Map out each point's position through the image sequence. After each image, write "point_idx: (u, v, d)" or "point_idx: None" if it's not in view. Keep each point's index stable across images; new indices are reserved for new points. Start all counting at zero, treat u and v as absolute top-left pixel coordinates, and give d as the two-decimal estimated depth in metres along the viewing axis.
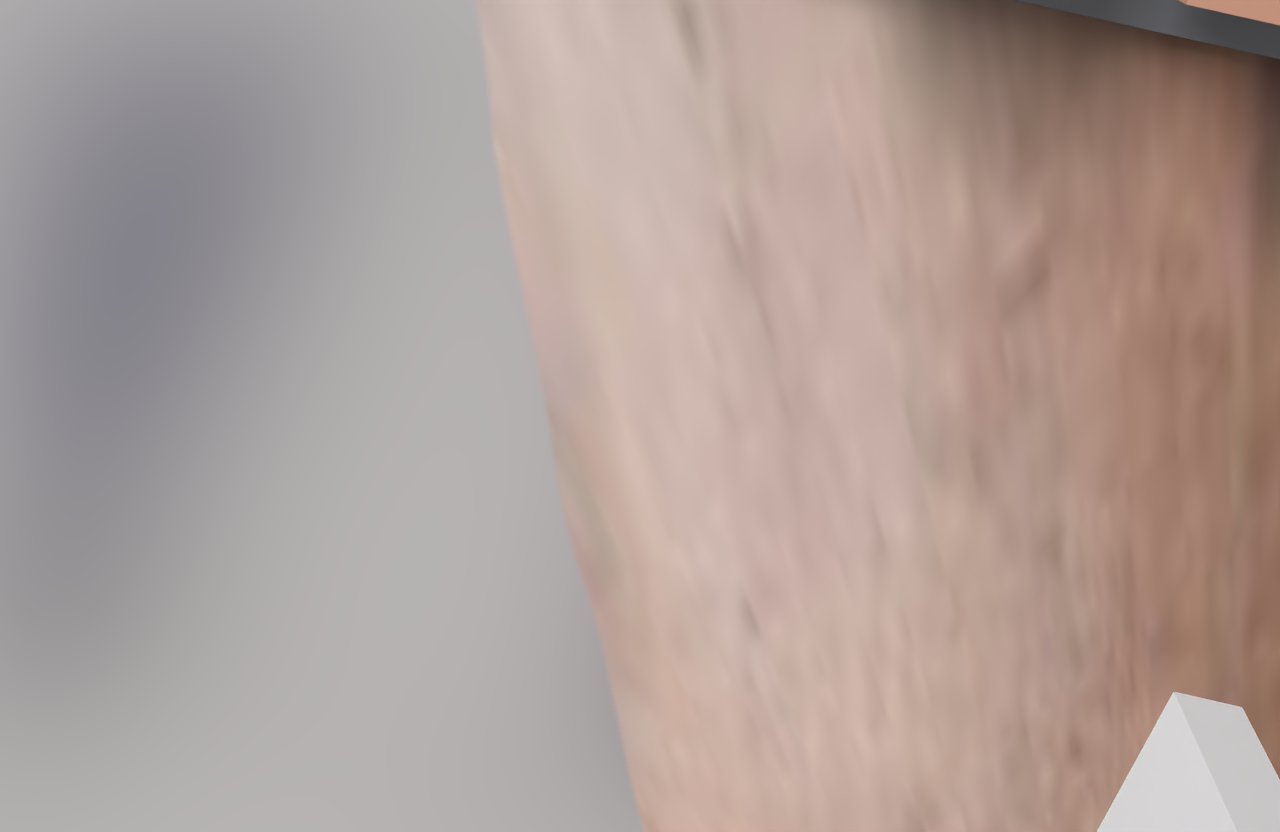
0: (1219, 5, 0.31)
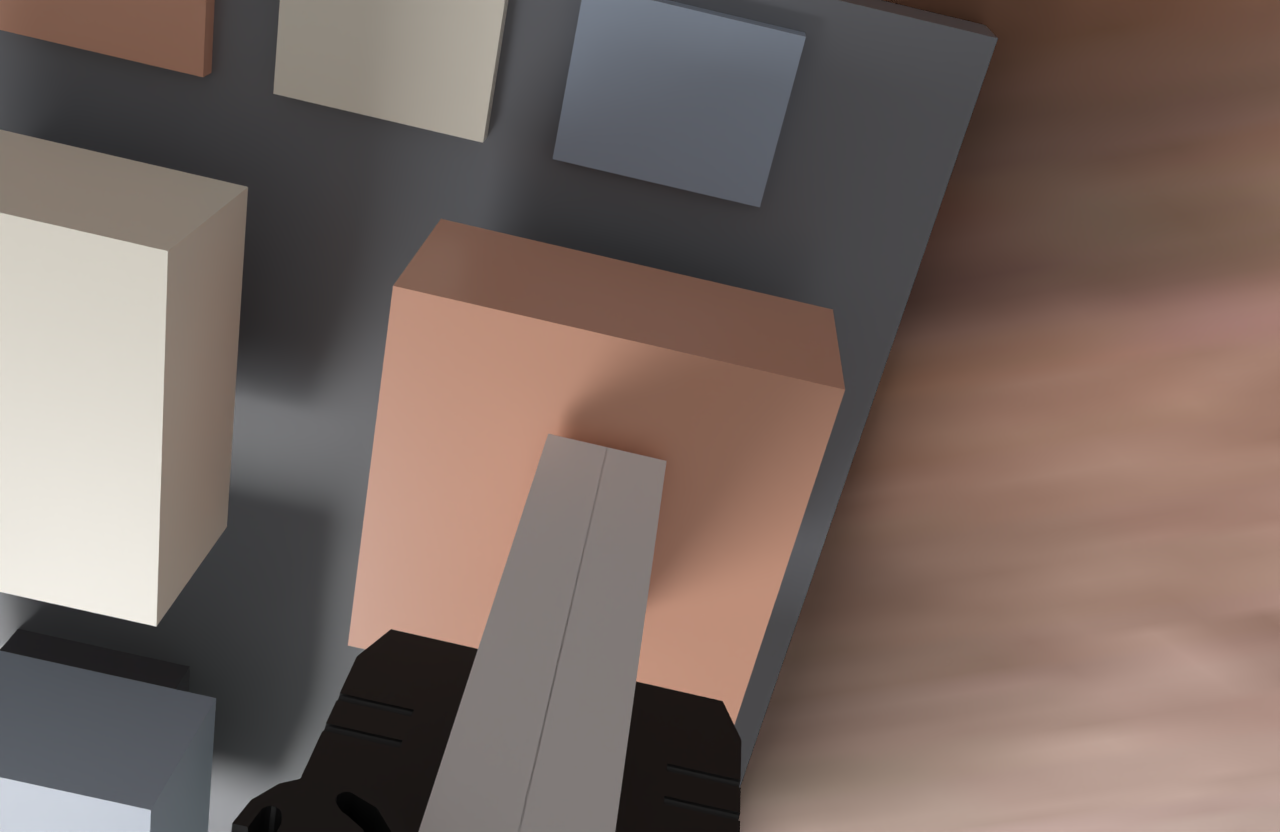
0: (735, 687, 0.17)
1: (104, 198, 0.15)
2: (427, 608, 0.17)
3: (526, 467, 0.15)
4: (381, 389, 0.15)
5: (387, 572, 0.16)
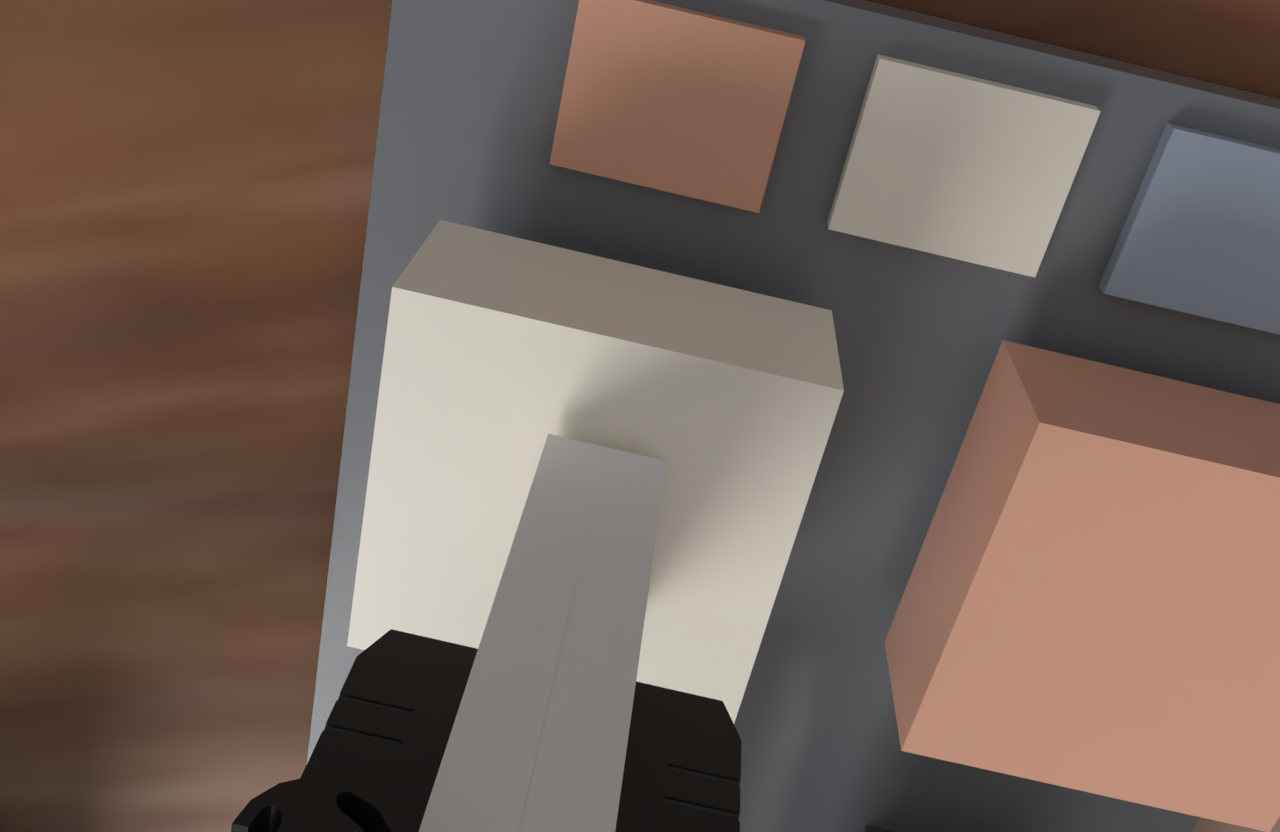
0: None
1: (743, 331, 0.15)
2: (991, 717, 0.17)
3: (1127, 589, 0.16)
4: (1003, 516, 0.16)
5: (960, 684, 0.17)
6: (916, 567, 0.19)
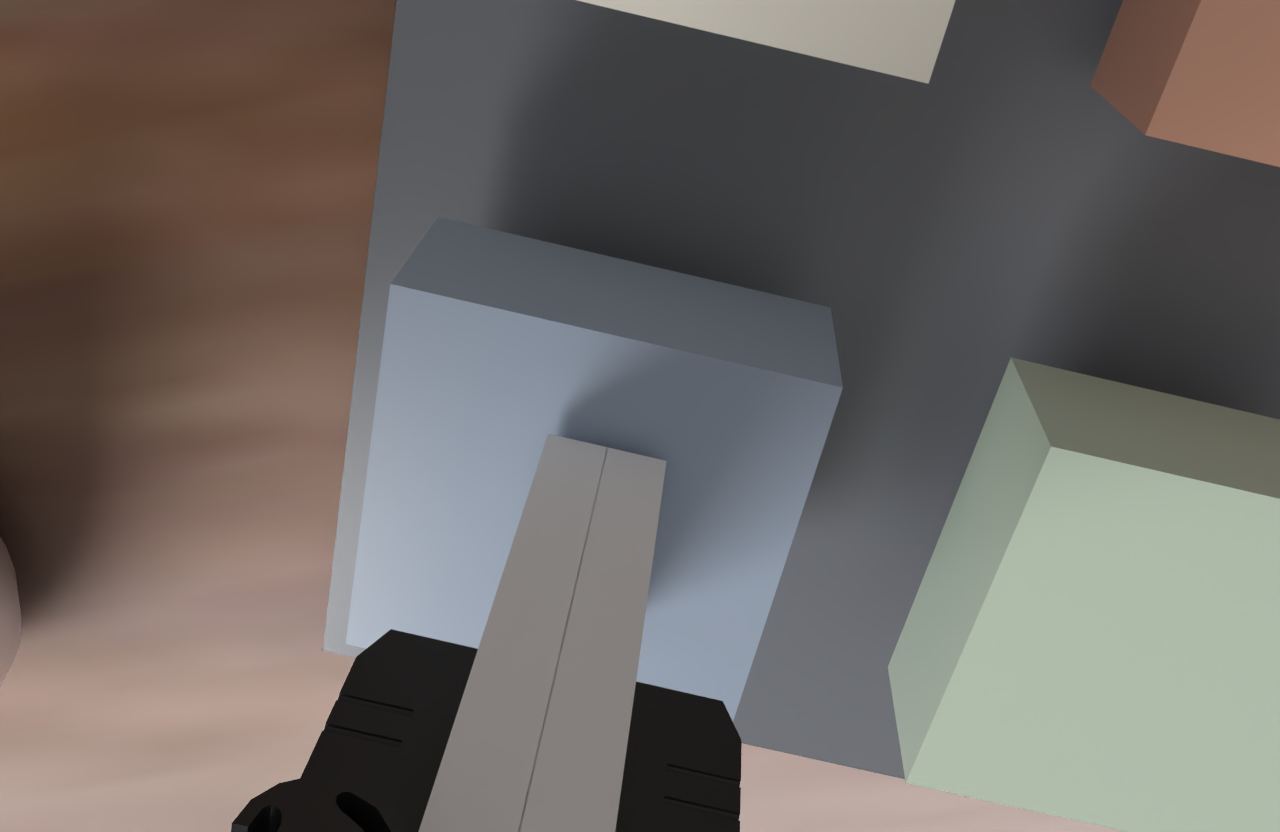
0: None
1: None
2: (1269, 73, 0.13)
3: None
4: None
5: (1233, 18, 0.13)
6: None
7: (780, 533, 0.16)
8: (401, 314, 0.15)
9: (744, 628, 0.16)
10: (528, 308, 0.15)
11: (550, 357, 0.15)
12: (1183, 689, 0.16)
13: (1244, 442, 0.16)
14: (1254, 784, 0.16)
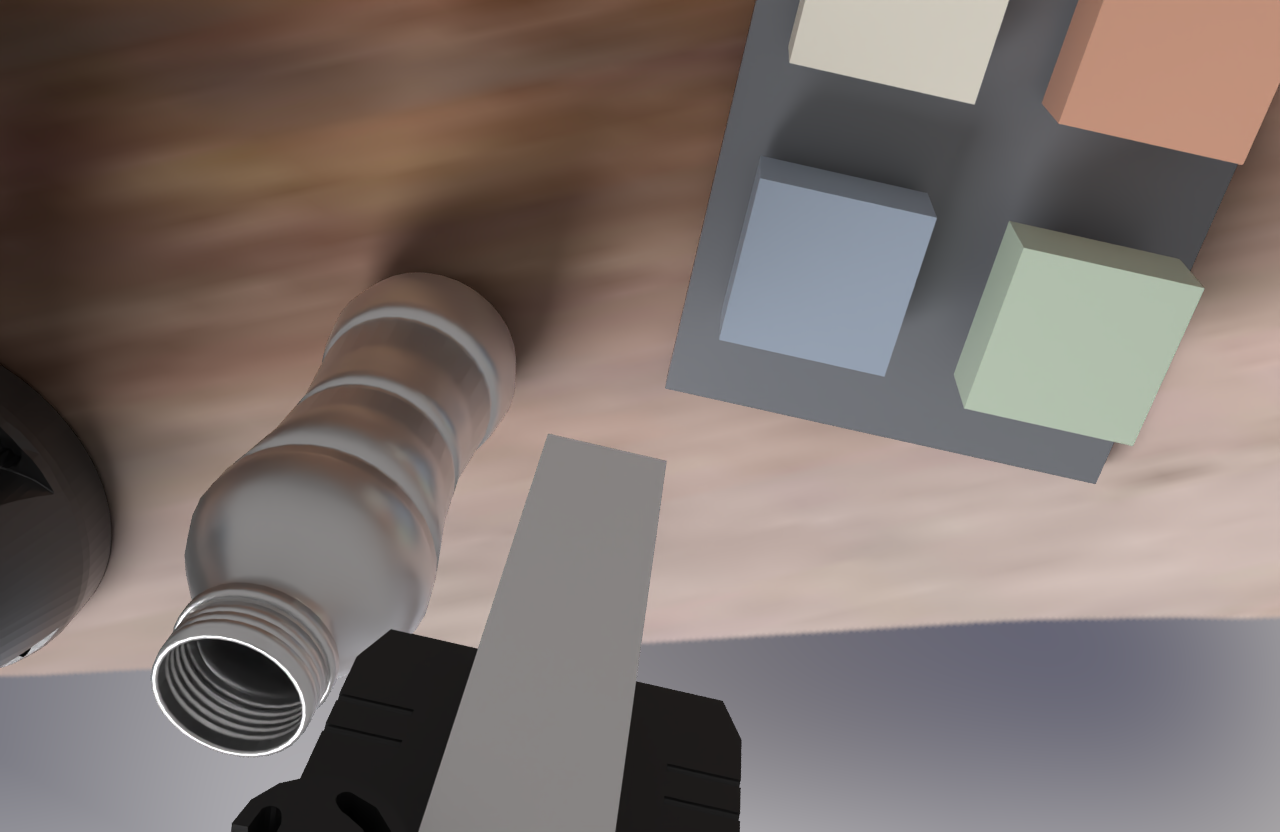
0: (1250, 137, 0.35)
1: None
2: (1104, 99, 0.35)
3: (1172, 17, 0.34)
4: None
5: (1089, 79, 0.35)
6: (1061, 52, 0.37)
7: (909, 282, 0.38)
8: (762, 190, 0.37)
9: (892, 327, 0.39)
10: (812, 187, 0.37)
11: (820, 207, 0.37)
12: (1082, 357, 0.37)
13: (1107, 252, 0.37)
14: (1115, 403, 0.38)
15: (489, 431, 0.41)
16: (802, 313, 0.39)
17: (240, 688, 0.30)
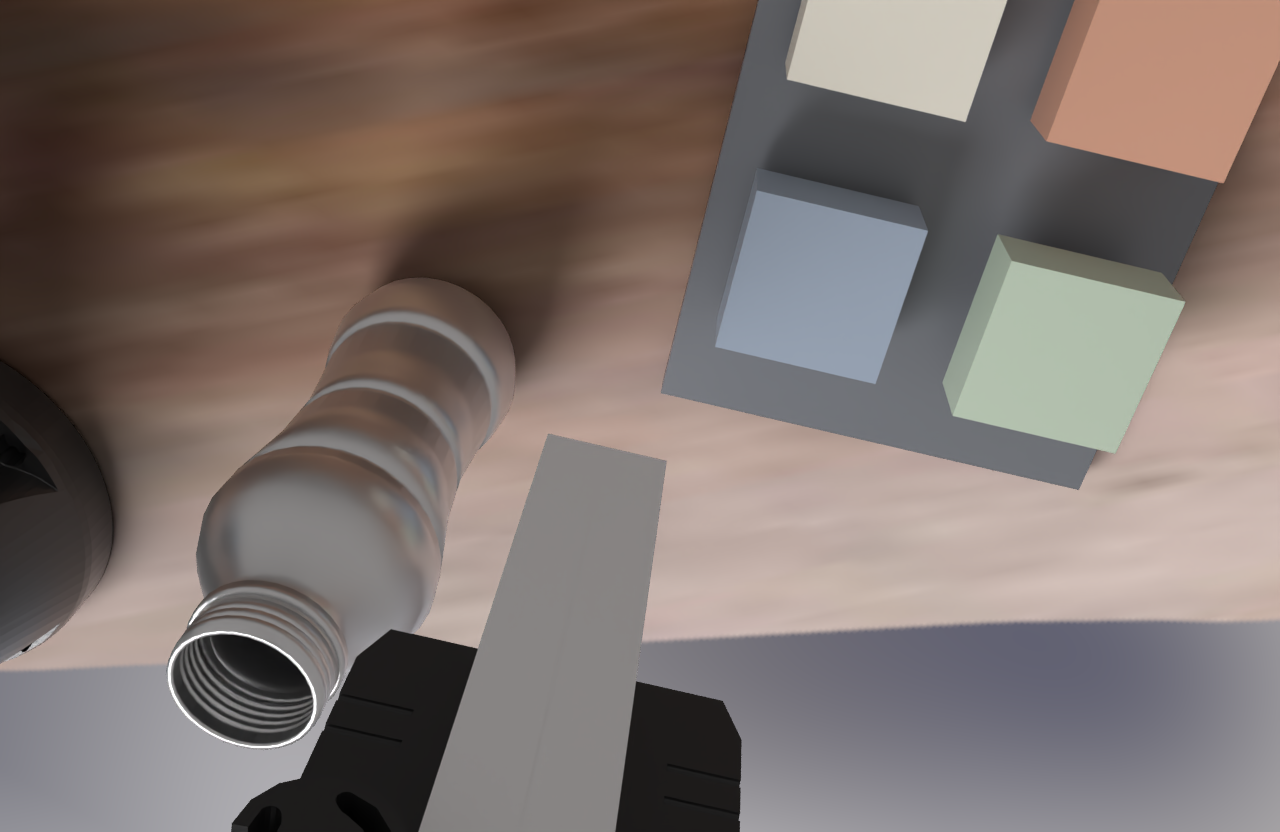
0: (1230, 157, 0.36)
1: None
2: (1090, 118, 0.36)
3: (1156, 40, 0.35)
4: (1100, 1, 0.35)
5: (1076, 99, 0.36)
6: (1049, 71, 0.38)
7: (900, 292, 0.39)
8: (759, 202, 0.38)
9: (884, 336, 0.40)
10: (807, 200, 0.38)
11: (815, 219, 0.38)
12: (1067, 367, 0.39)
13: (1092, 266, 0.39)
14: (1099, 412, 0.39)
15: (489, 433, 0.42)
16: (796, 322, 0.40)
17: (251, 683, 0.31)
